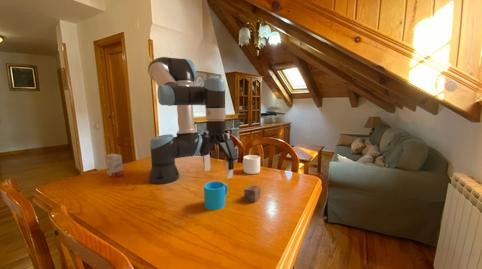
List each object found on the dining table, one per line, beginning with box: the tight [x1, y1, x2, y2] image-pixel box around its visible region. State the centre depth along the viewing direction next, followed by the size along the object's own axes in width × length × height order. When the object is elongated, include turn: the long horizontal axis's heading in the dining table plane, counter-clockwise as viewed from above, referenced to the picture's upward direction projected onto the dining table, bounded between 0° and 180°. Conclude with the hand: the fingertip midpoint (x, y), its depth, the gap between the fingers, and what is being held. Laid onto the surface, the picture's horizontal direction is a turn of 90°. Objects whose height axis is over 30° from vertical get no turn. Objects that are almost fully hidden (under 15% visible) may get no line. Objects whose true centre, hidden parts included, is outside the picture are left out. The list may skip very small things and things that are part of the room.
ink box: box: [104, 153, 124, 178], centre depth 117 cm, size 9×5×12 cm, turn 58°
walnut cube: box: [243, 184, 261, 204], centre depth 87 cm, size 5×5×5 cm
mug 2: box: [242, 154, 261, 175], centre depth 122 cm, size 12×10×9 cm
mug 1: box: [203, 181, 229, 211], centre depth 83 cm, size 12×8×8 cm
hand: (217, 174), depth 82 cm, fingers open, 13 cm apart
